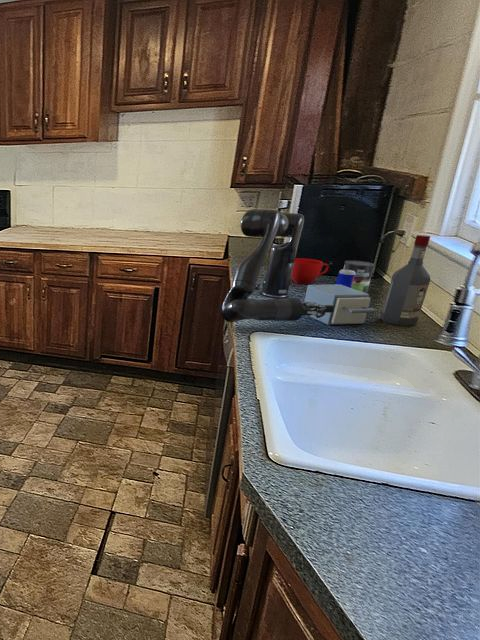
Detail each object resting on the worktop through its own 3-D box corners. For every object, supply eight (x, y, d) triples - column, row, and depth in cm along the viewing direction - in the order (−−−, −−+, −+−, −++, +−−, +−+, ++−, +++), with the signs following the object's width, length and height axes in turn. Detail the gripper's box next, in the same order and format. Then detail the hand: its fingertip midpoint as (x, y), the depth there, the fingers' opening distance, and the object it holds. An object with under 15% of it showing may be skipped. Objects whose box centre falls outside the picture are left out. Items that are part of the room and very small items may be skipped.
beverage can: (347, 312, 197) (358, 272, 192) (332, 311, 198) (342, 271, 193) (342, 308, 202) (352, 269, 196) (327, 307, 203) (337, 268, 197)
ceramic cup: (332, 286, 235) (338, 264, 231) (294, 285, 235) (299, 263, 232) (317, 279, 247) (322, 258, 243) (280, 279, 247) (285, 258, 244)
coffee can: (368, 301, 212) (377, 266, 207) (338, 298, 216) (347, 264, 210) (362, 295, 221) (371, 261, 216) (334, 292, 225) (342, 259, 219)
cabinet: (361, 323, 184) (369, 294, 180) (327, 324, 183) (334, 294, 179) (333, 312, 197) (340, 284, 193) (301, 312, 196) (307, 284, 192)
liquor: (376, 319, 188) (400, 234, 177) (392, 316, 192) (417, 233, 181) (403, 327, 181) (430, 238, 170) (419, 324, 184) (447, 237, 173)
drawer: (374, 327, 177) (382, 302, 174) (343, 328, 176) (349, 302, 173) (337, 311, 194) (343, 288, 191) (308, 312, 193) (313, 289, 190)
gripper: (298, 304, 168) (349, 303, 169) (274, 293, 180) (322, 292, 181) (293, 326, 171) (343, 325, 172) (270, 314, 183) (317, 313, 184)
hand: (332, 308), depth 177 cm, fingers closed
